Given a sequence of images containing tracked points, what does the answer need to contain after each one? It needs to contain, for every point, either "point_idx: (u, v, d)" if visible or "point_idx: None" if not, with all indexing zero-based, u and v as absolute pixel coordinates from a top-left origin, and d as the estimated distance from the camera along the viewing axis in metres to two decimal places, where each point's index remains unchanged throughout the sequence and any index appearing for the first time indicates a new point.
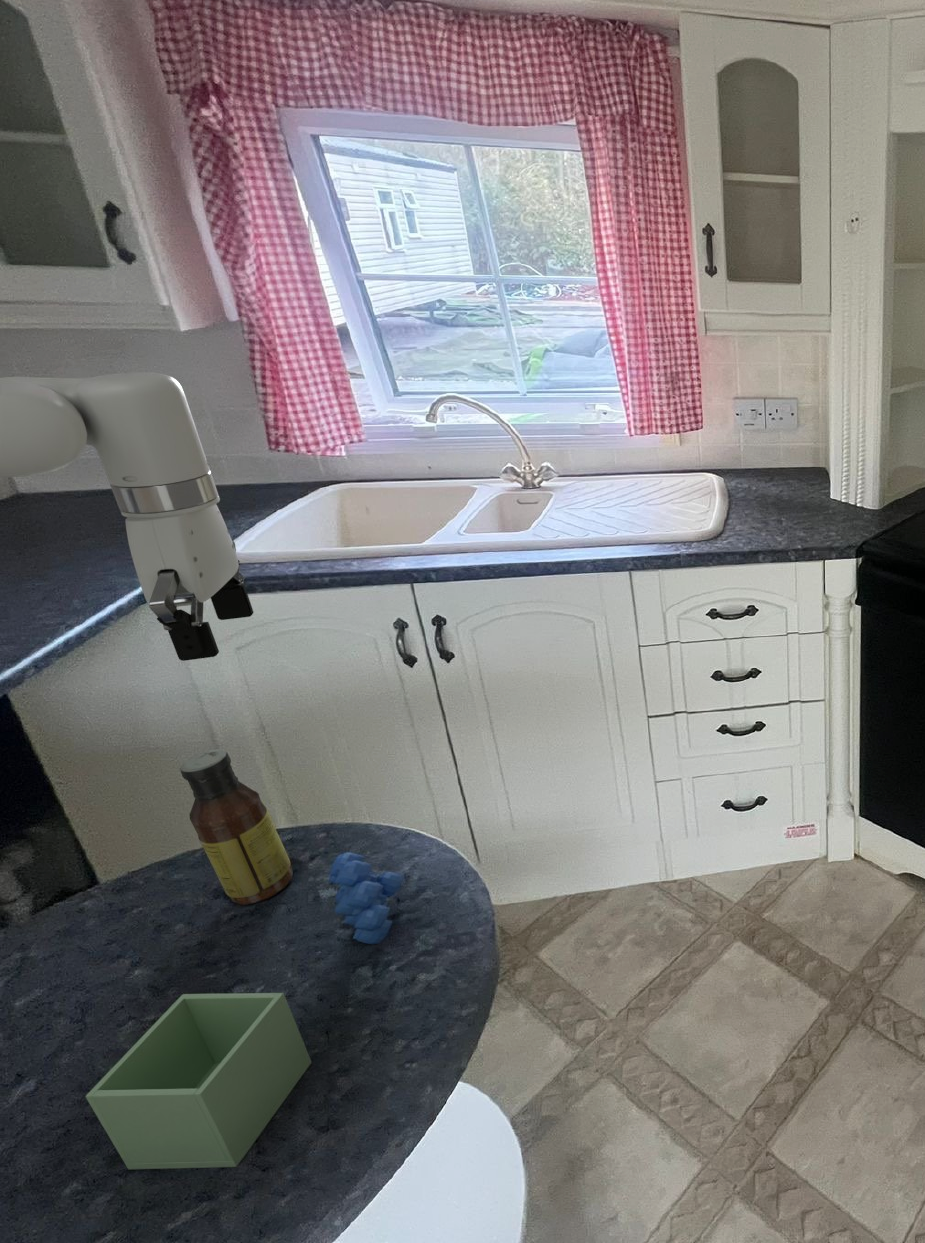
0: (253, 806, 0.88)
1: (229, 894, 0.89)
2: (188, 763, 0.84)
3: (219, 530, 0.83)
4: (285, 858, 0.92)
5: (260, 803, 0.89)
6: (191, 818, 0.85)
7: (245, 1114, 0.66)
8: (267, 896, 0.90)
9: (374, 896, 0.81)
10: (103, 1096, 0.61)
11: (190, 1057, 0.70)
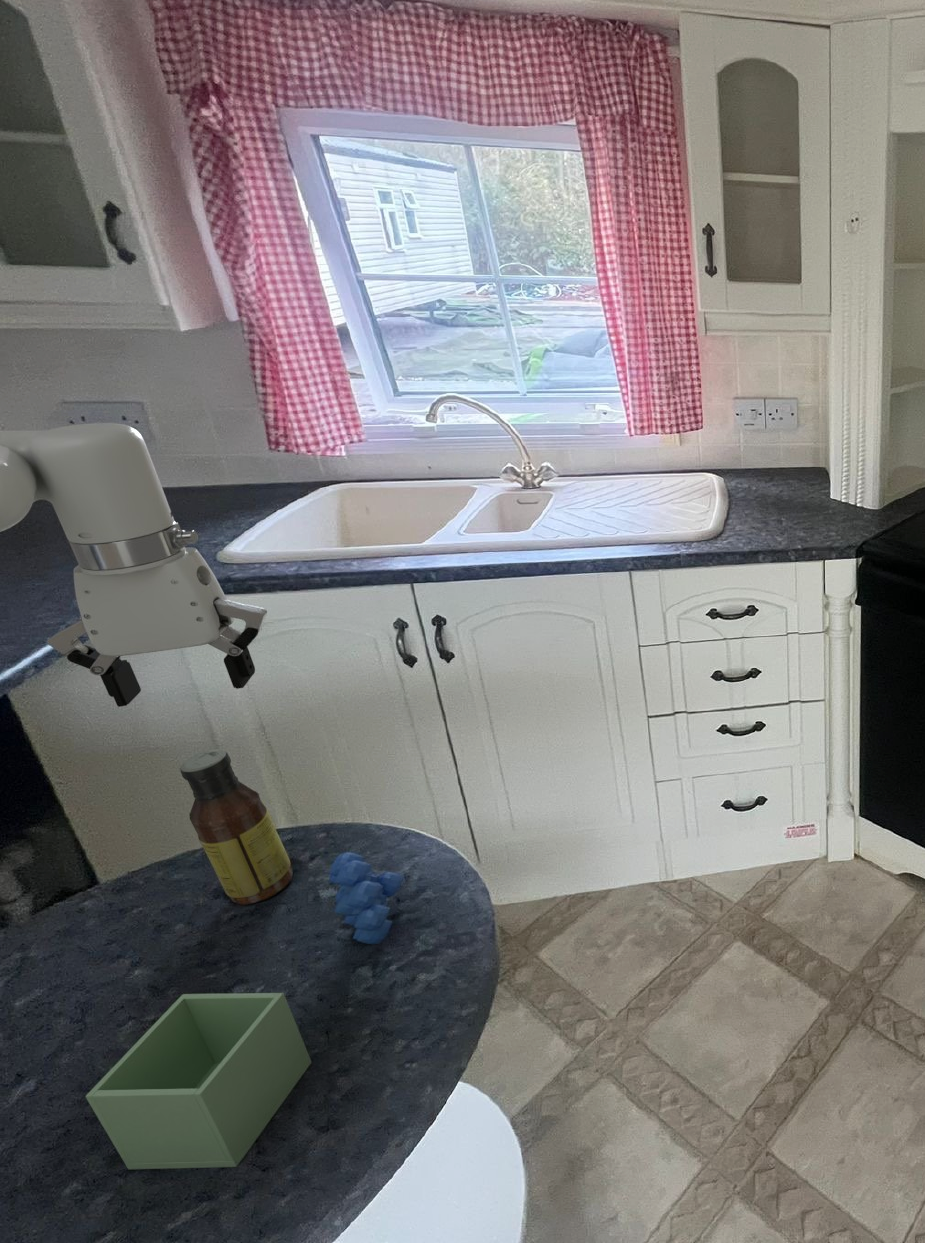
0: (252, 806, 0.88)
1: (229, 894, 0.89)
2: (188, 763, 0.84)
3: (158, 599, 0.76)
4: (285, 858, 0.92)
5: (260, 803, 0.89)
6: (191, 818, 0.85)
7: (245, 1114, 0.66)
8: (267, 896, 0.90)
9: (374, 896, 0.81)
10: (103, 1096, 0.61)
11: (190, 1057, 0.70)
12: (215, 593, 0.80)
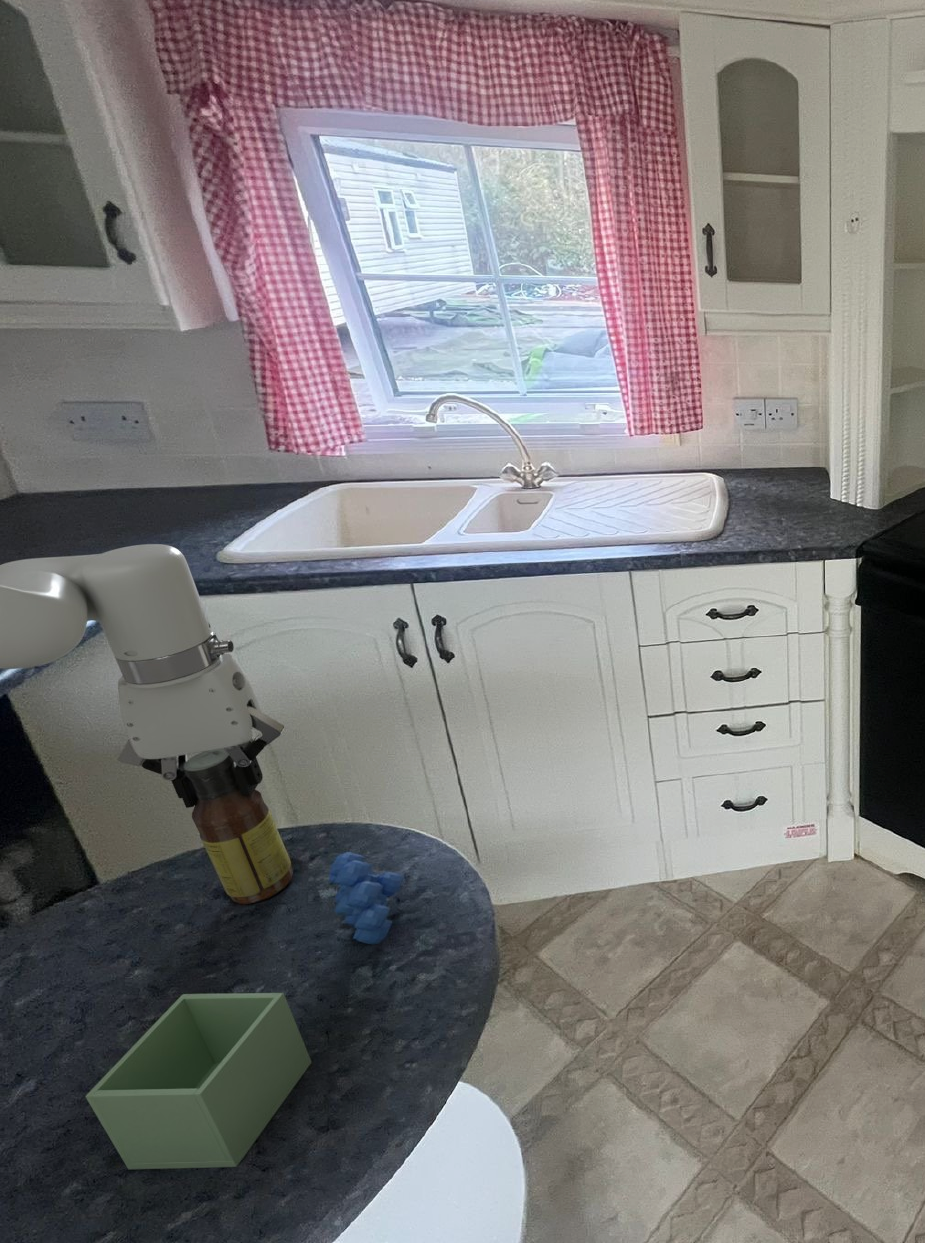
0: (255, 806, 0.88)
1: (229, 893, 0.89)
2: (192, 762, 0.84)
3: (197, 707, 0.81)
4: (286, 858, 0.92)
5: (262, 803, 0.89)
6: (193, 817, 0.85)
7: (245, 1114, 0.66)
8: (268, 896, 0.90)
9: (374, 896, 0.81)
10: (103, 1096, 0.61)
11: (190, 1057, 0.70)
12: (248, 696, 0.85)
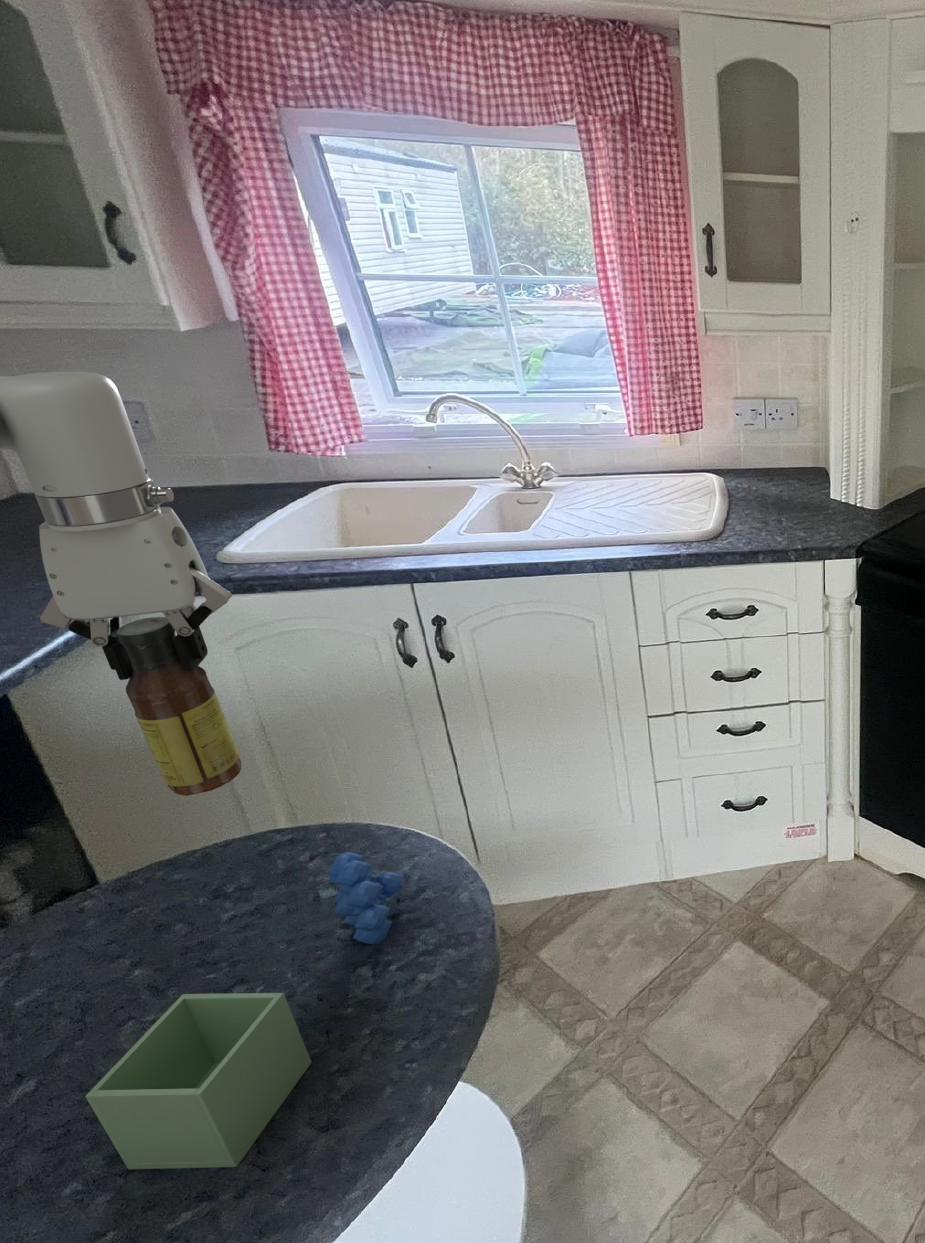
0: (198, 683, 0.79)
1: (168, 782, 0.80)
2: (126, 627, 0.75)
3: (130, 560, 0.72)
4: (233, 748, 0.84)
5: (207, 682, 0.81)
6: (127, 691, 0.76)
7: (245, 1114, 0.66)
8: (212, 787, 0.82)
9: (374, 896, 0.81)
10: (103, 1096, 0.61)
11: (190, 1057, 0.70)
12: (191, 556, 0.76)
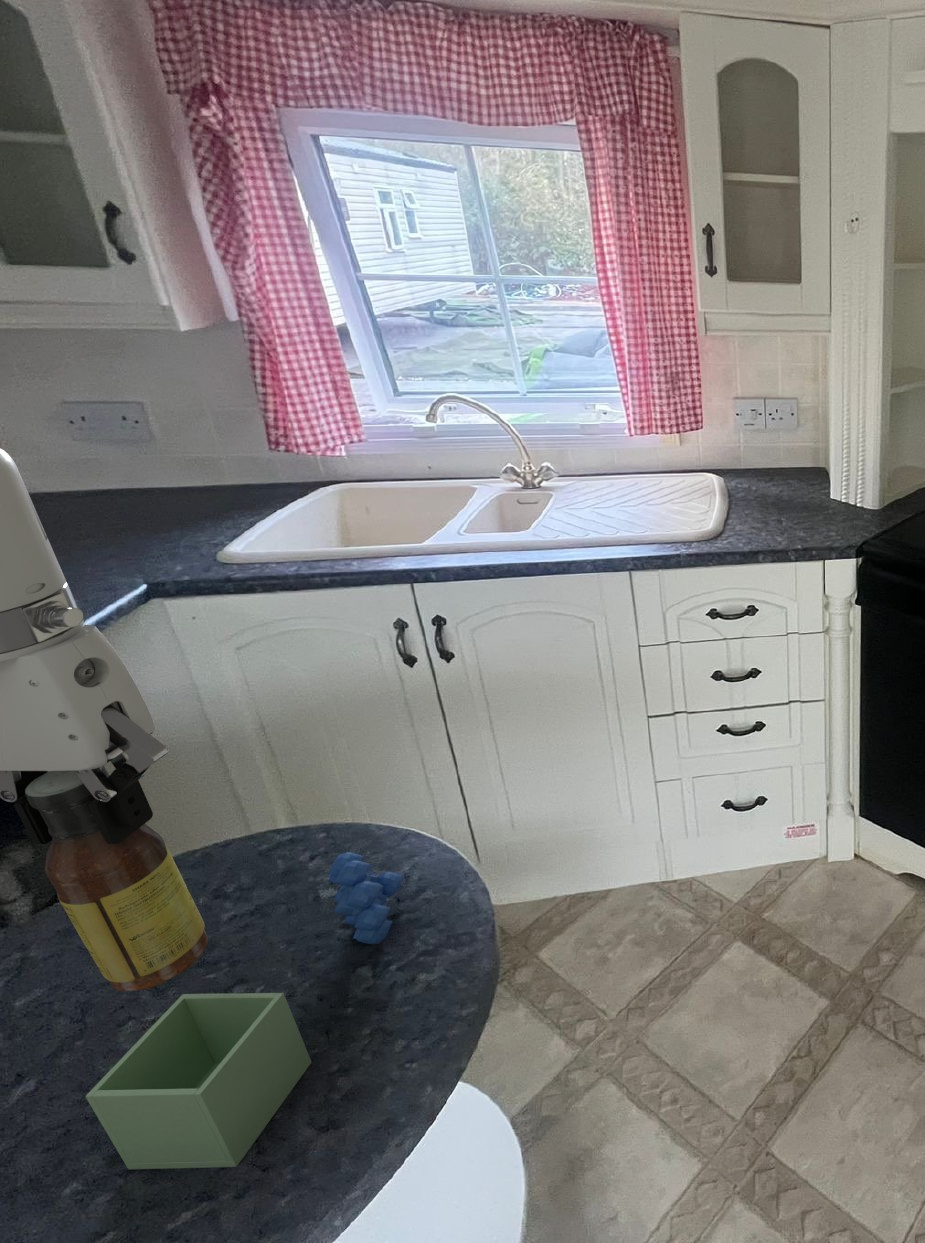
0: (129, 858, 0.58)
1: (100, 971, 0.60)
2: (44, 779, 0.55)
3: (15, 705, 0.51)
4: (187, 932, 0.62)
5: (149, 851, 0.59)
6: (46, 858, 0.57)
7: (245, 1114, 0.66)
8: (148, 986, 0.61)
9: (374, 896, 0.81)
10: (103, 1096, 0.61)
11: (190, 1057, 0.70)
12: (112, 697, 0.54)
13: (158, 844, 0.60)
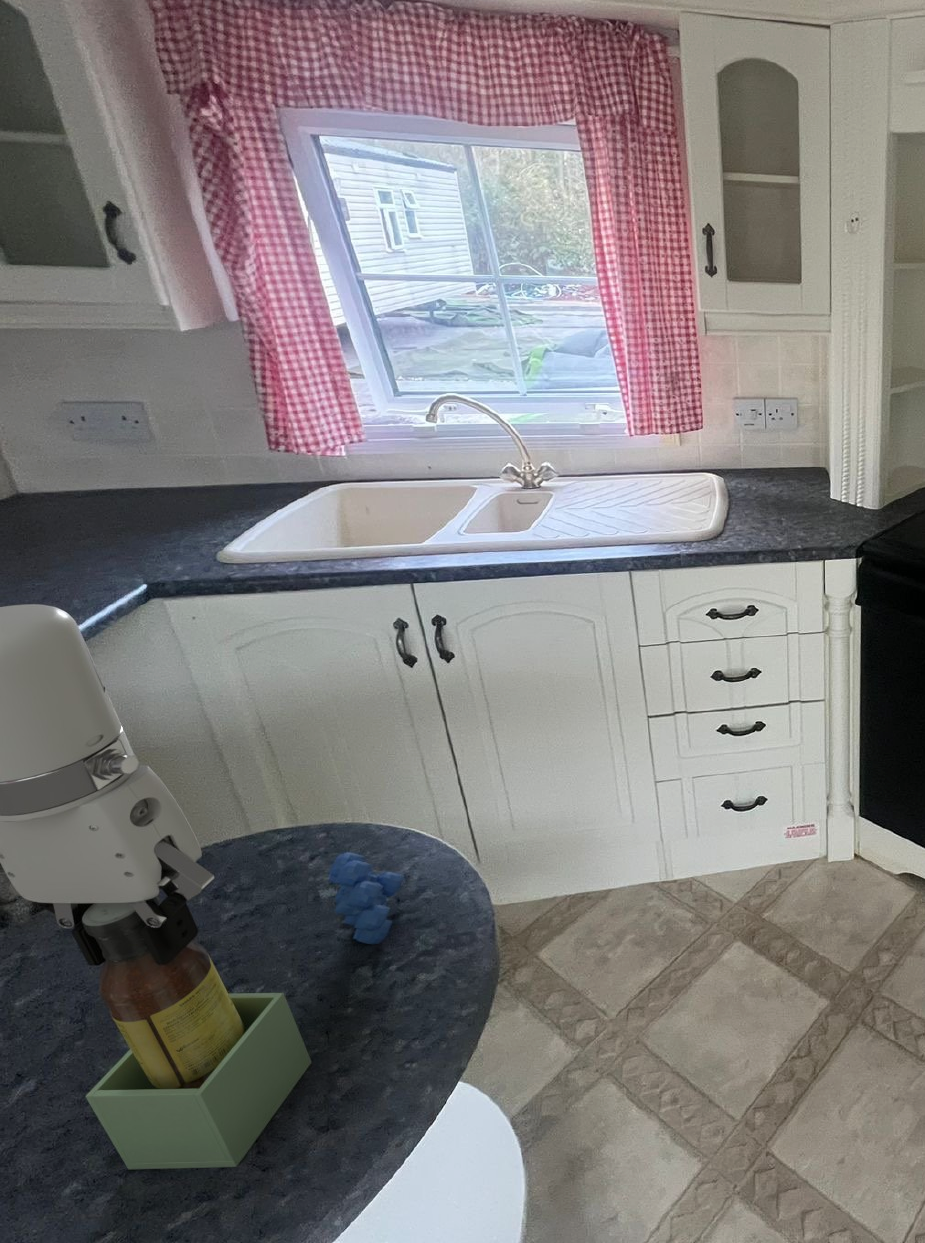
0: (177, 975, 0.61)
1: (148, 1078, 0.64)
2: (98, 906, 0.59)
3: (76, 848, 0.54)
4: (229, 1037, 0.66)
5: (195, 967, 0.63)
6: (100, 978, 0.60)
7: (245, 1114, 0.66)
8: None
9: (374, 896, 0.81)
10: (103, 1096, 0.61)
11: None
12: (164, 832, 0.58)
13: (202, 958, 0.64)
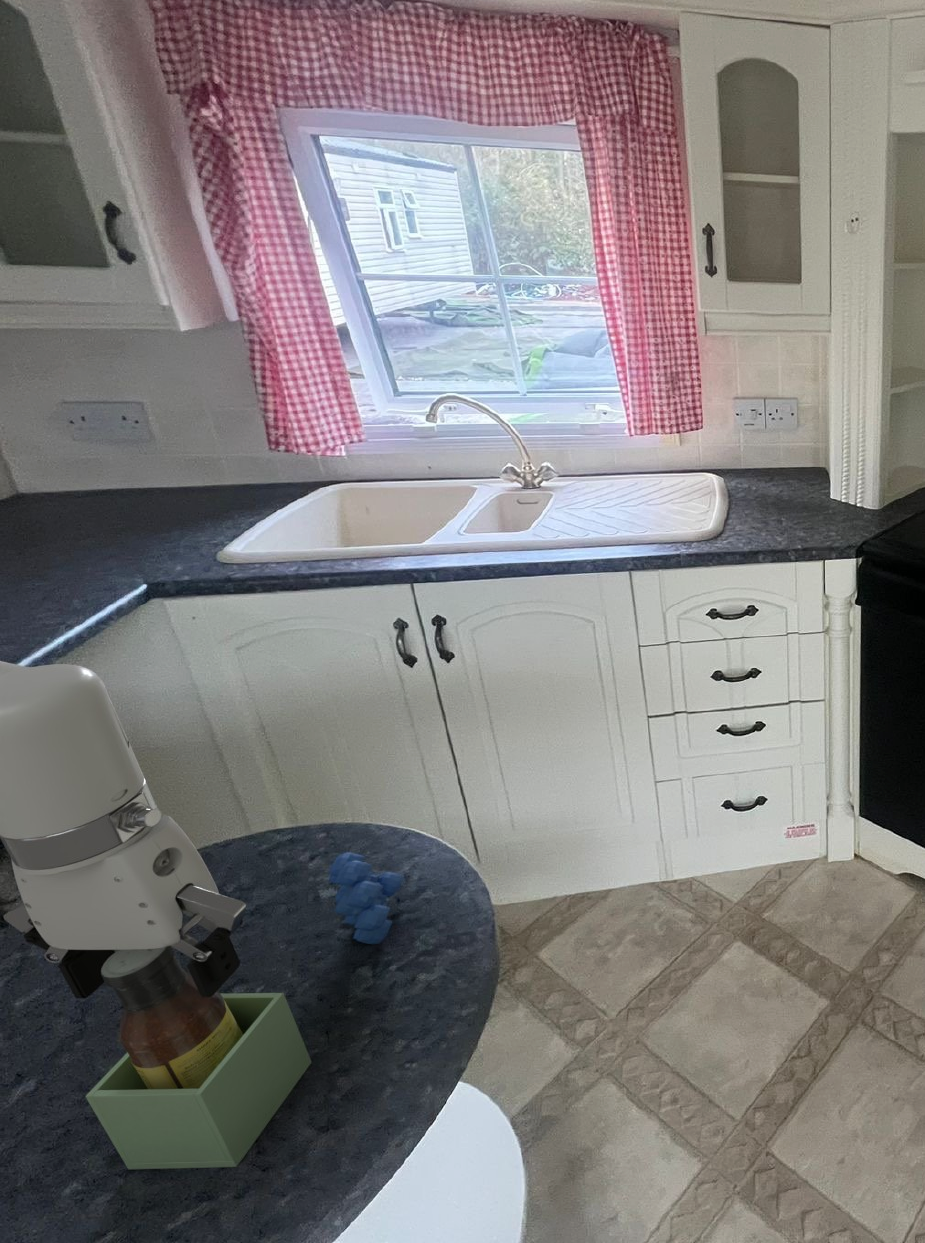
0: (193, 1022, 0.63)
1: None
2: (116, 957, 0.61)
3: (101, 898, 0.56)
4: None
5: (211, 1012, 0.65)
6: None
7: (245, 1114, 0.66)
8: None
9: (374, 896, 0.81)
10: (103, 1096, 0.61)
11: None
12: (185, 880, 0.59)
13: (218, 1003, 0.66)
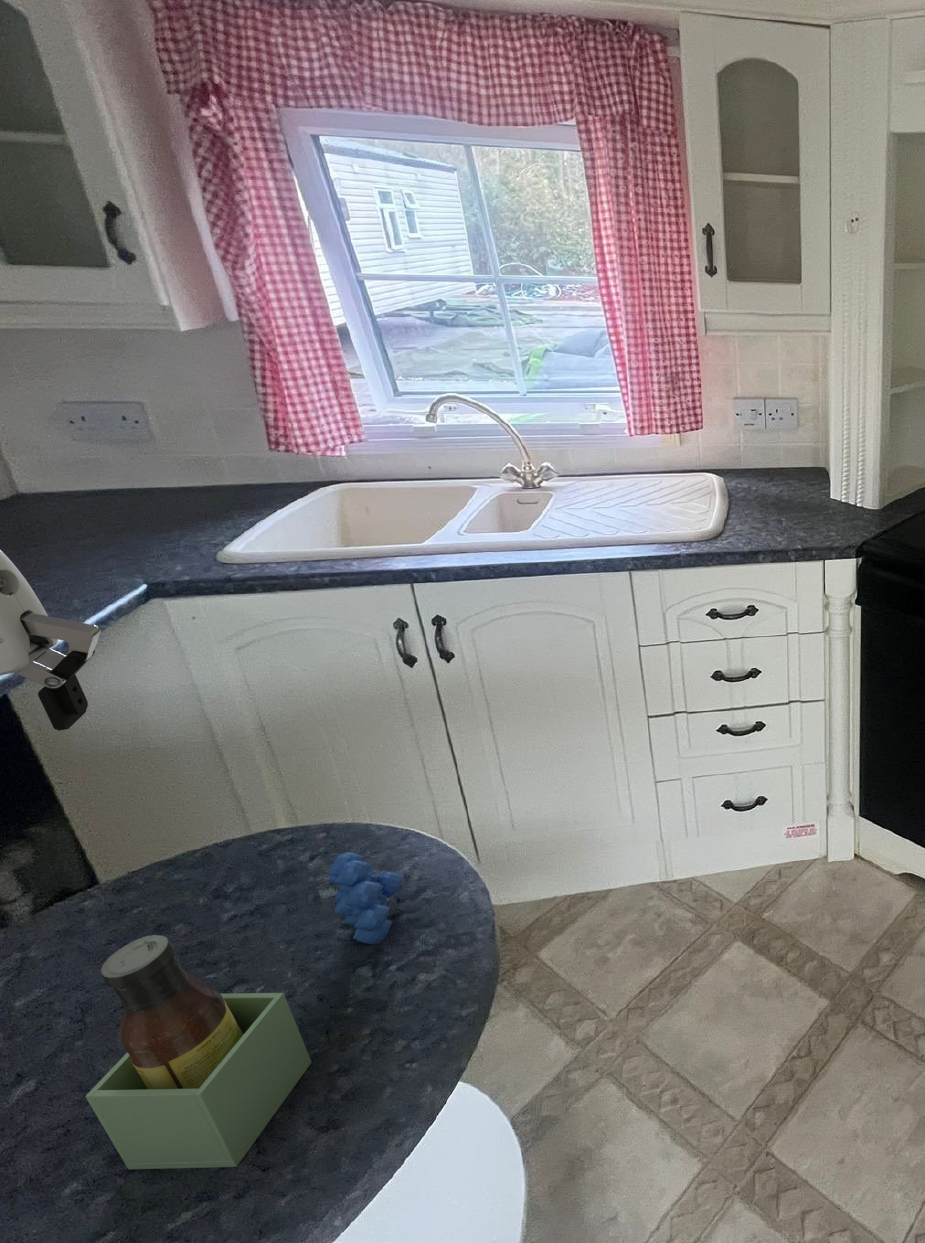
0: (193, 1022, 0.63)
1: None
2: (116, 957, 0.61)
3: None
4: None
5: (211, 1012, 0.65)
6: None
7: (245, 1114, 0.66)
8: None
9: (374, 896, 0.81)
10: (103, 1096, 0.61)
11: None
12: (25, 605, 0.61)
13: (218, 1003, 0.66)
